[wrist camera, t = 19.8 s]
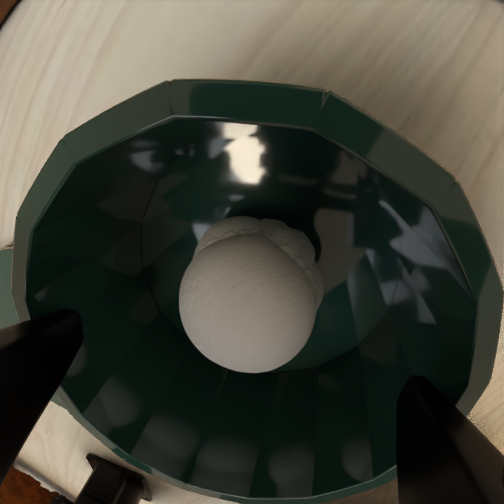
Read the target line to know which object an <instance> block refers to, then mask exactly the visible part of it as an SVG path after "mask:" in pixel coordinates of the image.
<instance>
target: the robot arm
mask: <svg viewBox="0 0 504 504" xmlns="http://www.w3.org/2000/svg"><path fill="white" fill-rule="evenodd" d="M83 340H84V333H83V328H82V324H81V319H80V315H79V313H78V312H76V311H74V310H71V309H62V310H59V311H56V312H52V313H49V314H46V315H43V316H40V317H37V318H33V319H30V320H27V321H24V322H21V323H17V324H14V325H11V326H8V327H5V328H2V329H0V487H1V486H2V483H3V481H4V479H5V477H6V476H7V474H8V472H9V470H10V468H11V466H12V464H13V463H14V461H15V459H16V457H17V455H18V454H19V452H20V450H21V448H22V447H23V445H24V443H25V441H26V440H27V438H28V436H29V435H30V433H31V431H32V429H33V428H34V426H35V424H36V423H37V421H38V419H39V418H40V416H41V415H42V413H43V411H44V410H45V408H46V406H47V405H48V403H49V402H50V400H51V399H52V397H53V395H54V394H55V392H56V391H57V389H58V388H59V386H60V384H61V383H62V381H63V379H64V377H65V375H66V373H67V372H68V370H69V368H70V366H71V364H72V362H73V360H74V358H75V356H76V354H77V352H78V351H79V349H80V347H81V345H82V343H83ZM86 458H87V460H88V462H89V464H90V465H91V467H92V469H93V472H92V473H91V475H90V477H89V478H88V480H87V482H86V483H85V485H84V487H83V488H82V490H81V492H80V493H79V495H78V497H77V499H76V500H75V502H74V503H73V502H72V501H70V500H68V499H67V498H66V497H65V496H64V495H62V494H61V495H58V494H56V493H55V495H54V496H53V498H52V499H51V501H50V503H49V504H139V502H140V500H141V499H143V500H146V501H149V502H151V500H152V497H151V495H150V492H149V490H148V487H147V485H146V482H145V480H144V478H143V477H142V476H140V475H138V474H136V473H133V472H130V471H128V470H125V469H123V468H120V467H118V466H115V465H113V464H111V463H108V462H106V461H104V460H102V459H99V458H97V457H95V456H93V455H91V454H87V456H86ZM396 465H397V480H398V501H399V504H504V455H503V454H502V453H501V452H500V451H499V450H498V449H497V448H496V447H495V446H494V445H493V444H492V443H491V442H490V441H489V440H488V439H487V438H486V437H485V436H484V435H483V434H482V433H481V432H480V431H479V430H478V429H477V428H476V427H475V426H474V424H473V423H472V422H471V421H470V420H469V419H468V418H467V417H466V416H465V415H464V414H463V413H462V412H461V411H460V410H459V409H458V408H457V407H456V406H455V405H454V404H453V403H452V402H451V401H450V400H449V399H448V398H447V397H446V396H445V395H444V394H443V393H442V392H441V391H440V390H439V389H438V388H437V387H435V386H434V385H433V384H432V383H431V382H430V381H429V380H428V379H427V378H426V377H425V376H417V375H412V376H410V377H409V378H408V379H407V381H406V383H405V385H404V387H403V389H402V391H401V393H400V394H399V396H398V399H397V403H396Z"/></svg>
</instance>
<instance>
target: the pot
mask: <svg viewBox="0 0 504 504" xmlns="http://www.w3.org/2000/svg"><path fill="white" fill-rule="evenodd" d="M235 216H248V217H254V218H256V219H259V220H260V221H261V219H264V218H267V219H275V220H280V221H282V222H284V223H285V224H286V225H287V226H288V227H289V228H292V229H296V230H300V231H302V232H303V233H304V234H305V235H306V236H307V237H308V238H309V239H310V241H311V243H312V245H313V246H314V249H315V259H314V260H315V262H316V264H317V265H318V267H319V269H320V270H321V273H322V276H323V279H324V293H323V299H322V302H321V304H320V306H319V308H318V310H317V312H316V319H315V322H314V323H315V324H314V326H313V330H312V332H311V334H310V336H309V338H308V340H307V342H306V344H305V345H304V347H303V348H302V349H301V350H300V351H299V353H298V354H297V355H296V356H295V357H294V358H292V359H291V360H290V361H289V362H287V363H285V364H284V365H282V366H280V367H278V368H275V369H273V370H270V371H267V372H261V373H247V372H238V371H234V370H231V369H228V368H226V367H225V368H224V367H223V366H220V365H219V364H217V363H215V362H213V361H211V360H210V359H208V358H207V357H205V356H204V355H203V354H202V353H201V352H200V351H199V350H198V349H197V348H196V346H195V345H194V344H193V343H192V341H191V340H190V339H189V336H188V335H187V333H186V331H185V329H184V326H183V324H182V320H181V316H180V311H179V290H180V285H181V282H182V278H183V276H184V274H185V271H186V269H187V268H188V266H189V264H190V263H191V261H192V260H193V256H194V253H195V250H196V247H197V245H198V243H199V241H200V239H201V238H202V236H203V235H204V233H205V232H206V231H207V230H208V229H209V228H210V227H211V226H212V225H214V224H216V223H218V222H220V221H222V220H224V219H227V218H230V217H235ZM11 290H12V292H11V294H12V298H13V302H14V305H15V309H16V313H17V316H18V319H19V323H21V322H24V321H27V320H30V319H33V318H37V317H40V316H43V315H46V314H49V313H52V312H56V311H59V310H62V309H71V310H74V311H76V312H78V313H79V315H80V319H81V324H82V328H83V333H84V340H83V343H82V345H81V347H80V349H79V351H78V352H77V354H76V356H75V358H74V360H73V362H72V364H71V366H70V368H69V370H68V372H67V373H66V375H65V377H64V379H63V381H62V383H61V384H60V386H59V388H58V389H57V391H56V392H55V394H56V395H57V397H58V398H59V400H60V401H61V402H62V404H63V405H64V406H65V408H66V409H67V410H68V412H69V413H70V414H71V415H73V417H74V418H75V419H76V420H77V421H78V422H79V423H80V424H81V425H82V426H83V427H85V428H86V429H87V430H88V431H89V432H90V433H91V434H93V435H94V436H95V437H96V438H97V439H98V440H100V441H101V442H102V443H103V444H104V445H106V446H107V447H108V448H109V449H111V450H112V451H113V452H114V453H116V454H117V455H118V456H120V457H121V458H122V459H124V460H125V461H127V462H128V463H130V464H132V465H134V466H136V467H138V468H140V469H141V470H143V471H145V472H147V473H149V474H151V475H153V476H155V477H157V478H159V479H161V480H164V481H166V482H168V483H170V484H172V485H174V486H177V487H179V488H181V489H185V490H187V491H191V492H195V493H198V494H202V495H206V496H210V497H214V498H219V499H223V500H228V501H233V502H238V503H243V504H317V503H319V504H320V503H324V502H329V501H333V500H336V499H340V498H344V497H348V496H351V495H355V494H358V493H361V492H365V491H368V490H371V489H374V488H377V487H380V486H383V485H385V484H387V483H389V482H391V481H392V480H394V479H396V478H397V465H396V403H397V399H398V396H399V394H400V393H401V391H402V389H403V387H404V385H405V383H406V381H407V379H408V378H409V377H410V376H412V375H417V376H425V377H426V378H427V379H428V380H429V381H430V382H431V383H432V384H433V385H434V386H435V387H437V388H438V389H439V390H440V391H441V392H442V393H443V394H444V395H445V396H446V397H447V398H448V399H449V400H450V401H451V402H452V403H453V404H454V405H455V406H456V407H457V408H458V409H459V410H460V411H461V412H462V413H463V414H464V415H465V416H466V417H467V416H468V414H469V413H470V412H471V410H472V409H473V407H474V406H475V404H476V403H477V401H478V400H479V398H480V397H481V395H482V394H483V392H484V391H485V389H486V388H487V386H488V384H489V383H490V380H491V376H492V372H493V367H494V362H495V357H496V352H497V346H498V340H499V333H500V326H501V319H502V310H503V300H504V291H503V285H502V282H501V279H500V276H499V273H498V271H497V268H496V265H495V262H494V259H493V257H492V254H491V252H490V249H489V246H488V244H487V241H486V239H485V237H484V234H483V232H482V229H481V227H480V225H479V222H478V220H477V218H476V216H475V213H474V211H473V209H472V207H471V205H470V203H469V201H468V199H467V197H466V195H465V193H464V191H463V189H462V187H461V185H460V183H459V182H458V181H457V180H456V178H455V177H454V175H453V174H452V173H450V172H449V171H448V170H447V169H446V168H444V167H443V166H442V165H441V164H439V163H438V162H437V161H436V160H434V159H433V158H432V157H431V156H429V155H428V154H427V153H425V152H424V151H423V150H421V149H420V148H419V147H417V146H416V145H415V144H413V143H412V142H411V141H409V140H408V139H407V138H405V137H404V136H402V135H401V134H400V133H398V132H397V131H395V130H394V129H392V128H391V127H389V126H388V125H387V124H385V123H384V122H382V121H381V120H379V119H378V118H376V117H374V116H373V115H371V114H370V113H368V112H367V111H365V110H364V109H362V108H360V107H359V106H357V105H356V104H354V103H352V102H351V101H349V100H347V99H346V98H344V97H342V96H340V95H339V94H337V93H335V92H334V91H326V89H324V88H322V87H315V86H307V85H299V84H290V83H280V82H269V81H256V80H238V79H173V80H171V81H164V82H162V83H159V84H157V85H155V86H153V87H151V88H149V89H147V90H145V91H143V92H140V93H138V94H136V95H134V96H132V97H131V98H129V99H127V100H125V101H123V102H121V103H119V104H117V105H115V106H113V107H112V108H110V109H108V110H106V111H104V112H103V113H101V114H99V115H97V116H96V117H94V118H92V119H90V120H89V121H87V122H85V123H84V124H82V125H80V126H79V127H77V128H75V129H74V130H72V131H71V132H69V133H68V134H66V135H65V136H64V137H63V138H62V139H61V140H60V141H59V143H58V144H57V146H56V147H55V149H54V150H53V152H52V153H51V155H50V157H49V158H48V160H47V161H46V163H45V165H44V166H43V168H42V169H41V171H40V173H39V174H38V176H37V178H36V180H35V181H34V183H33V185H32V187H31V188H30V190H29V192H28V194H27V196H26V197H25V199H24V201H23V203H22V205H21V207H20V209H19V211H18V213H17V217H16V222H15V231H14V242H13V255H12V275H11Z"/></svg>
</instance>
